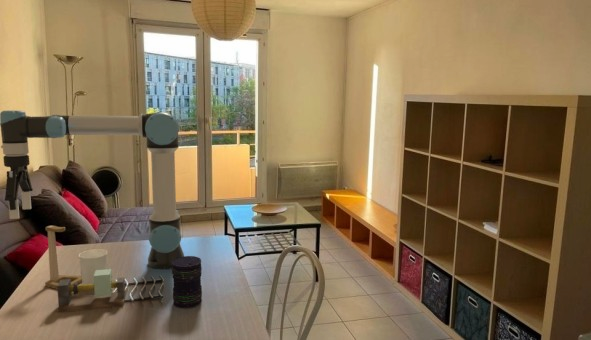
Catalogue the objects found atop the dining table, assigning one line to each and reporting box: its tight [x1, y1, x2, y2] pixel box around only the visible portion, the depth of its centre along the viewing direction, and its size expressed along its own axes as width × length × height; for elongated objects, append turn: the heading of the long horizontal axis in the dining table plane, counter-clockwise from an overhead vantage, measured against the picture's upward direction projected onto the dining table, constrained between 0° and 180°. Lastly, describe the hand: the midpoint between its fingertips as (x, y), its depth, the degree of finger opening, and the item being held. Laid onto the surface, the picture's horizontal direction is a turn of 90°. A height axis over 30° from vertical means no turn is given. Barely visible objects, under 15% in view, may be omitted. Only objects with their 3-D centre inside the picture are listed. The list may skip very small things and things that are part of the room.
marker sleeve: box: [93, 268, 114, 297], centre depth 144 cm, size 5×5×7 cm
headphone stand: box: [44, 225, 82, 290], centre depth 158 cm, size 10×11×22 cm
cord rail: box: [56, 277, 127, 313], centre depth 144 cm, size 20×8×8 cm, turn 107°
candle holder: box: [78, 248, 108, 285], centre depth 159 cm, size 10×10×12 cm
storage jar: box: [171, 255, 203, 310], centre depth 146 cm, size 10×10×15 cm
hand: (21, 213), depth 151 cm, fingers open, 13 cm apart
